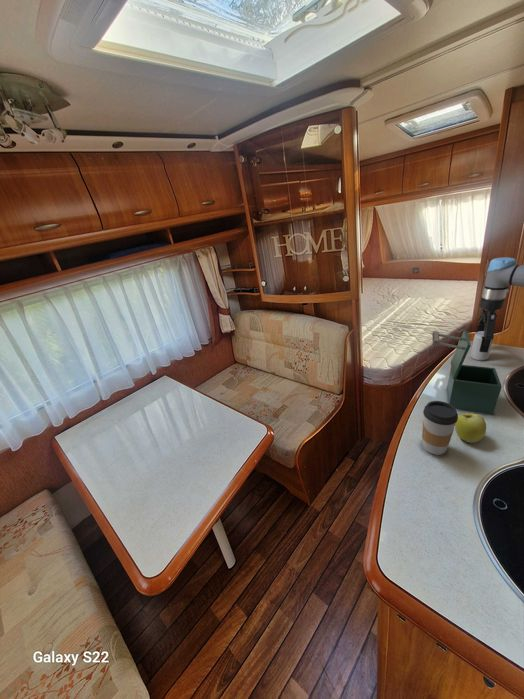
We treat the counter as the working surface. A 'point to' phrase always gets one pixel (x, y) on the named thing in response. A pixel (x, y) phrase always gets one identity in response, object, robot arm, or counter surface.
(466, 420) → the apple
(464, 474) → the counter surface
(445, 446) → the coffee cup
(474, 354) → the beverage can
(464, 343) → the bin lid
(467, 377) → the waste bin
